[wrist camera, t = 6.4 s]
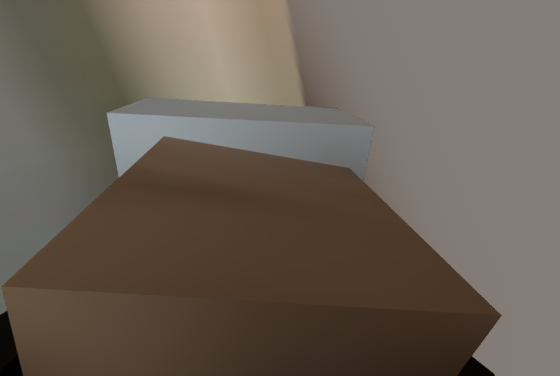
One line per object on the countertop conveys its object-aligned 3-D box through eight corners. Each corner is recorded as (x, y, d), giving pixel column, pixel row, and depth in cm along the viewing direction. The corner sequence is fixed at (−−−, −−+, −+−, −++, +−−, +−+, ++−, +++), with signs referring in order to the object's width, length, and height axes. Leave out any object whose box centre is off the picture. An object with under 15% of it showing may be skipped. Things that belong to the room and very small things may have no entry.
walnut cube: (305, 298, 12) (361, 505, 6) (156, 288, 10) (62, 536, 5) (349, 167, 9) (501, 315, 4) (164, 135, 8) (1, 286, 3)
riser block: (314, 250, 16) (335, 306, 12) (169, 253, 14) (144, 316, 11) (336, 107, 12) (374, 126, 9) (150, 96, 11) (106, 113, 8)
